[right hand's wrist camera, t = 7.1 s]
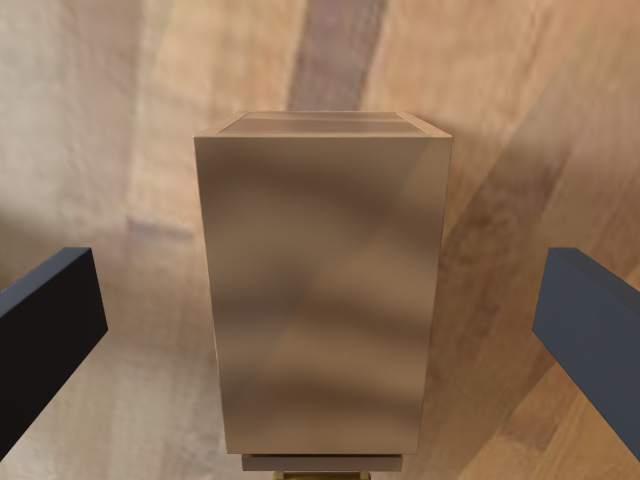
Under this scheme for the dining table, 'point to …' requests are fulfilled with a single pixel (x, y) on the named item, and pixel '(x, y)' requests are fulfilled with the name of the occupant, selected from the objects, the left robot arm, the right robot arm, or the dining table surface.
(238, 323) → the cabinet
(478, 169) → the dining table surface
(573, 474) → the dining table surface
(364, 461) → the drawer
